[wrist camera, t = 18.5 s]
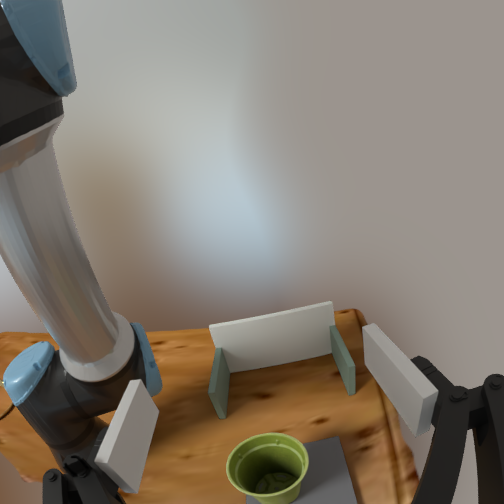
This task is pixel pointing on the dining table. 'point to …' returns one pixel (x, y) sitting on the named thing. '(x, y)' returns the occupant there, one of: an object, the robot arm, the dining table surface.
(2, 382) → the brass wire loop
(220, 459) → the dining table surface
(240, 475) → the plant pot
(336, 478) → the slate mat
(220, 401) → the grey-green angled panels
